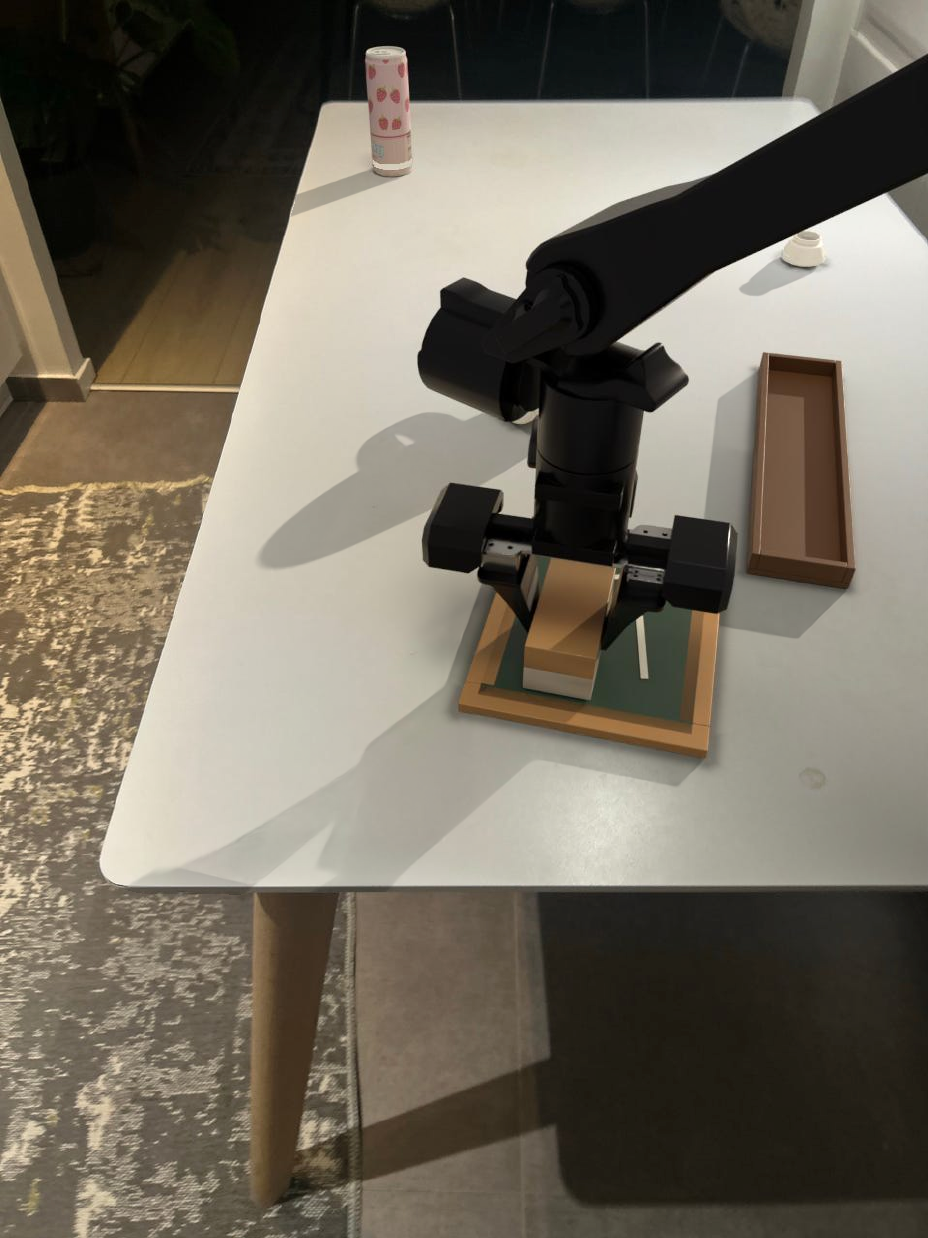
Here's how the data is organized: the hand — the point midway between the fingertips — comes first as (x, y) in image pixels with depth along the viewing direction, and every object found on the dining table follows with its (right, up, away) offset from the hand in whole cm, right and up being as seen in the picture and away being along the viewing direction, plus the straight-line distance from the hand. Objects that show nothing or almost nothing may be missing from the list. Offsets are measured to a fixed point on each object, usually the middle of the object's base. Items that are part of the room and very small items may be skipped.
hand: (569, 639), depth 63 cm
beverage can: (-17, +66, +70) cm, 98 cm away
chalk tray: (+22, +15, +17) cm, 31 cm away
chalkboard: (+3, +1, +3) cm, 4 cm away
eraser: (0, 0, +1) cm, 1 cm away
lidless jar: (+33, +44, +47) cm, 72 cm away
